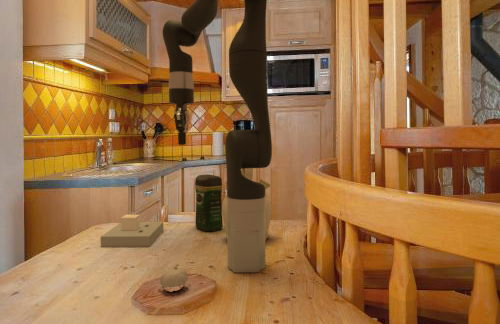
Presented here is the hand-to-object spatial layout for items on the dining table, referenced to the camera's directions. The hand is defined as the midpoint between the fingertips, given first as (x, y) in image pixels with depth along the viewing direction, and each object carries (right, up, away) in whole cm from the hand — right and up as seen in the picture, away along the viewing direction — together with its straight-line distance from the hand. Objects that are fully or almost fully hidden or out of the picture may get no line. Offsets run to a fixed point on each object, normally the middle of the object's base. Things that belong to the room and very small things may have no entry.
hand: (182, 144), depth 121 cm
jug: (+20, -29, -1) cm, 36 cm away
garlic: (+5, -32, -40) cm, 51 cm away
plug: (-16, -29, 0) cm, 33 cm away
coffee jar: (+7, -28, +12) cm, 32 cm away
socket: (-15, -29, 0) cm, 33 cm away
